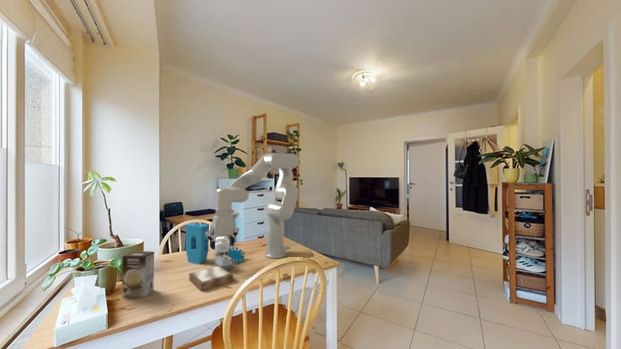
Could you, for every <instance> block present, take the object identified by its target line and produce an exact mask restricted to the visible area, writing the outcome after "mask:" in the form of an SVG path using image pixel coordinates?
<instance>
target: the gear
mask: <svg viewBox="0 0 621 349" xmlns="http://www.w3.org/2000/svg"><path fill="white" fill-rule="evenodd" d="M242 251H243V250H242V249H239V247H238V246H236V247H235V246H233V247H231V248H229V251H227V252H226V253H227V254H228V255H227V256H229V257H230V258H232V261H233V264H236V263H237V264H240V263H242V262H244V258H245V256H244V255H245V254H246V251H243V252H242Z"/></svg>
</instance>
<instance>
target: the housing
mask: <svg viewBox="0 0 621 349" xmlns="http://www.w3.org/2000/svg"><path fill="white" fill-rule="evenodd" d="M214 259H215V260H214V261H215V262H214V267H216V266H221V267H222V268H224V269H225V270H227V271H228V272H230V271H232V270H233V260H232V257H229V256H228V255H226V253H225V254H224V253H223V254H219V255H216V256H215V258H214Z"/></svg>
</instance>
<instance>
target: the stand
mask: <svg viewBox="0 0 621 349" xmlns="http://www.w3.org/2000/svg"><path fill="white" fill-rule="evenodd" d="M188 277H189V278H188V281H189V282H190V283H192V284H193V285H194V286H195V287H196V288H197V289H198V290H199V291H200V292H204V291H206V290H209V289H212V288H215V287H218V286H219V287H220V286H223V285H225V284H228V283H231V282H233V281H234V273H232V272H230V271H227V270H225V269H224V268H222V267H221V266H216V267H215V266H214V267H208V268H206V269H205V268H204V269H201V270H198V271H197V270H196V271H194V272H191V273H189V274H188Z"/></svg>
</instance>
